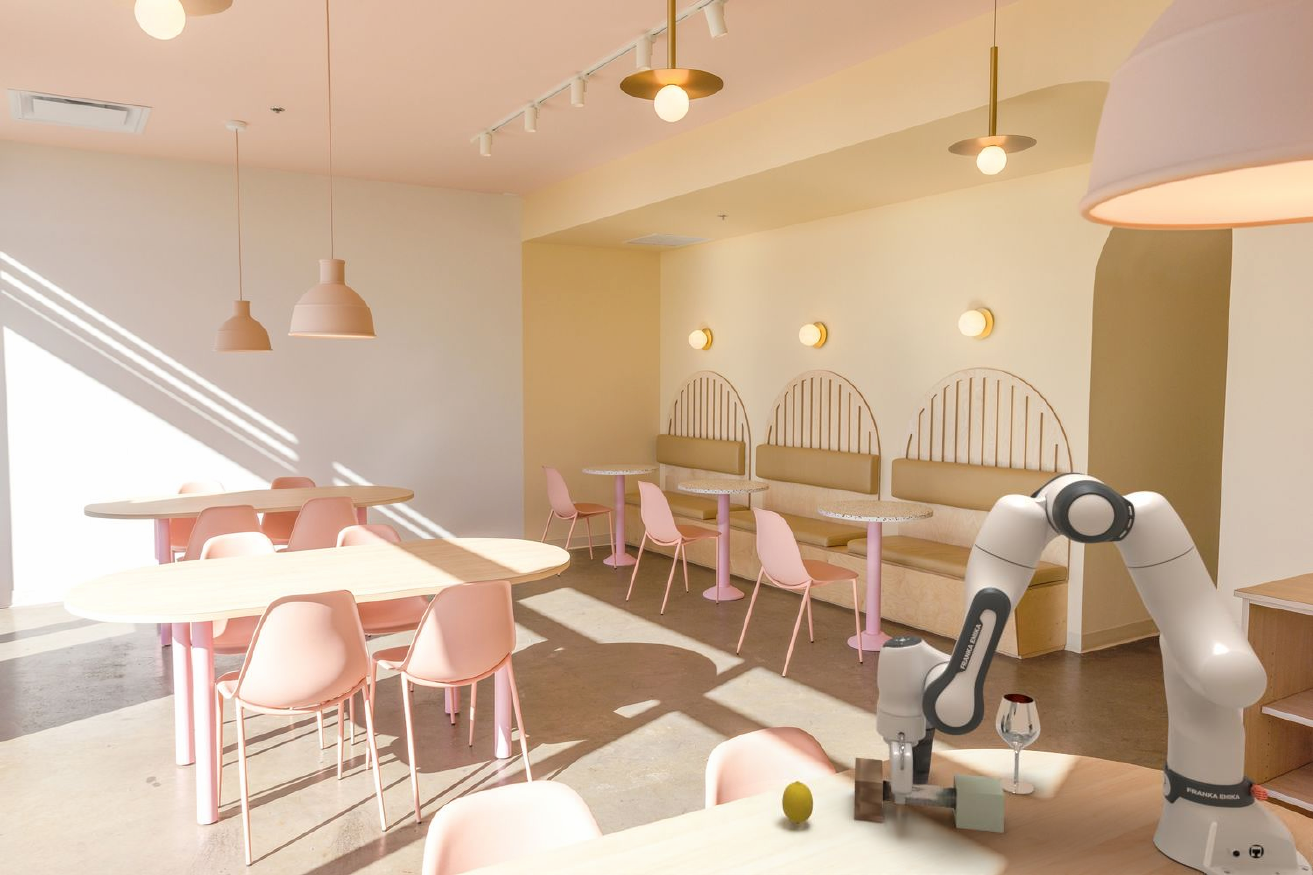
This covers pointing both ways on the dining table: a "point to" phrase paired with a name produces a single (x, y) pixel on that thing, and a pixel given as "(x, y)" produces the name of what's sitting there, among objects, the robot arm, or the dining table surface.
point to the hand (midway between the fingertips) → (899, 795)
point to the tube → (925, 795)
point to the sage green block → (979, 803)
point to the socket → (868, 790)
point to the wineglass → (1017, 733)
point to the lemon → (797, 802)
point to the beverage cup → (923, 756)
